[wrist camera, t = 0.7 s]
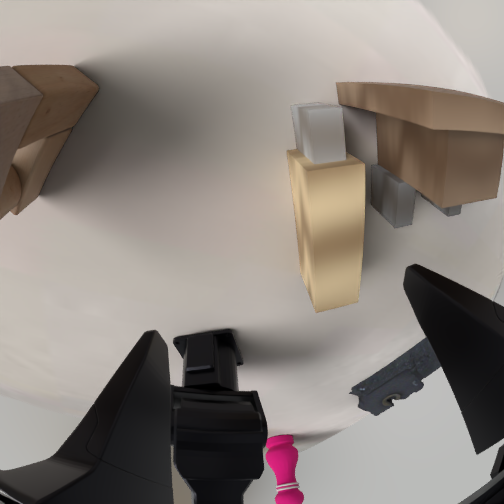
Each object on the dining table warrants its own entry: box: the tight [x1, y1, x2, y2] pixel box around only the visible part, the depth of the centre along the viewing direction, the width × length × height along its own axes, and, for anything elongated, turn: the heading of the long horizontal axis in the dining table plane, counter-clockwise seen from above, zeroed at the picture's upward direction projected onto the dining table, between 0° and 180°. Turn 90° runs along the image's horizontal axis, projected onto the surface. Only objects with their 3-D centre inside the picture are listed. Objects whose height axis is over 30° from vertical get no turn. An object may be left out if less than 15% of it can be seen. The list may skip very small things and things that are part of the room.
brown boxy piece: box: [336, 82, 504, 228], centre depth 14 cm, size 10×12×10 cm
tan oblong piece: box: [287, 103, 365, 313], centre depth 18 cm, size 14×4×5 cm, turn 10°
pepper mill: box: [266, 435, 304, 504], centre depth 43 cm, size 7×7×20 cm
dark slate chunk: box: [349, 337, 441, 416], centre depth 39 cm, size 15×22×5 cm
